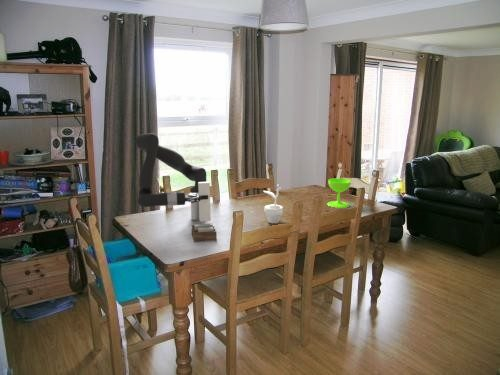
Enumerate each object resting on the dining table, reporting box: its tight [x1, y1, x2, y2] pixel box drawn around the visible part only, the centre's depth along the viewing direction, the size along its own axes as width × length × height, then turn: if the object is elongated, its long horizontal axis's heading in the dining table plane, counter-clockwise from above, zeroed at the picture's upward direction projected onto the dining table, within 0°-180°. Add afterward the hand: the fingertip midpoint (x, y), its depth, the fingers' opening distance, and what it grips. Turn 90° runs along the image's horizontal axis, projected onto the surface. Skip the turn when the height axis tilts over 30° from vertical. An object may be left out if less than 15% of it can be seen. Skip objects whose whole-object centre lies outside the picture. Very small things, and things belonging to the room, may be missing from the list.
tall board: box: [198, 181, 212, 222], centre depth 215 cm, size 2×6×22 cm, turn 104°
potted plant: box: [263, 183, 284, 224], centre depth 238 cm, size 13×12×25 cm
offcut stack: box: [193, 223, 214, 232], centre depth 212 cm, size 7×10×5 cm, turn 104°
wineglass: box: [326, 177, 352, 209], centre depth 276 cm, size 16×16×18 cm
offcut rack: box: [191, 224, 217, 243], centre depth 215 cm, size 14×12×5 cm
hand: (207, 196), depth 215 cm, fingers closed on tall board, 2 cm apart
